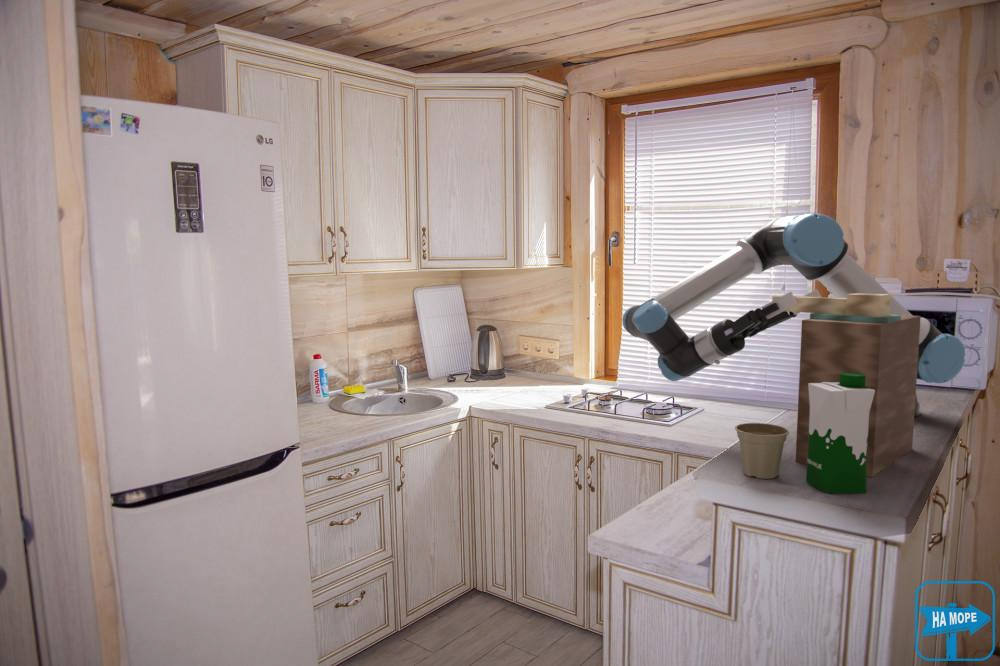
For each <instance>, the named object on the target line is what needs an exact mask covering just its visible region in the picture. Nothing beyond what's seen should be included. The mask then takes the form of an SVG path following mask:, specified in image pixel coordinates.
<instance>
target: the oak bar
mask: <svg viewBox="0 0 1000 666" xmlns="http://www.w3.org/2000/svg"><path fill="white" fill-rule="evenodd" d="M891 295H892V294H891V293H889V294H869V293H854V294H847V298H837V297H827V296H826V297H823V296H821V297H803V296H798V295H796V296H795V295H793V296H794V298H795V300H796V301H797V303H798V304H797V305H795V306H793V307H791V308H789V309H787V310H785V311H787V312H788V313H789V312H800V313H810V314H811V313H825V314H844V315H851V316H869V317H883V316H888V315H890V301H891ZM781 296H782V295H772V298H771V299H772V300H771V302H772V301H774V300H776V299H777V298H779V297H781Z"/></svg>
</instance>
